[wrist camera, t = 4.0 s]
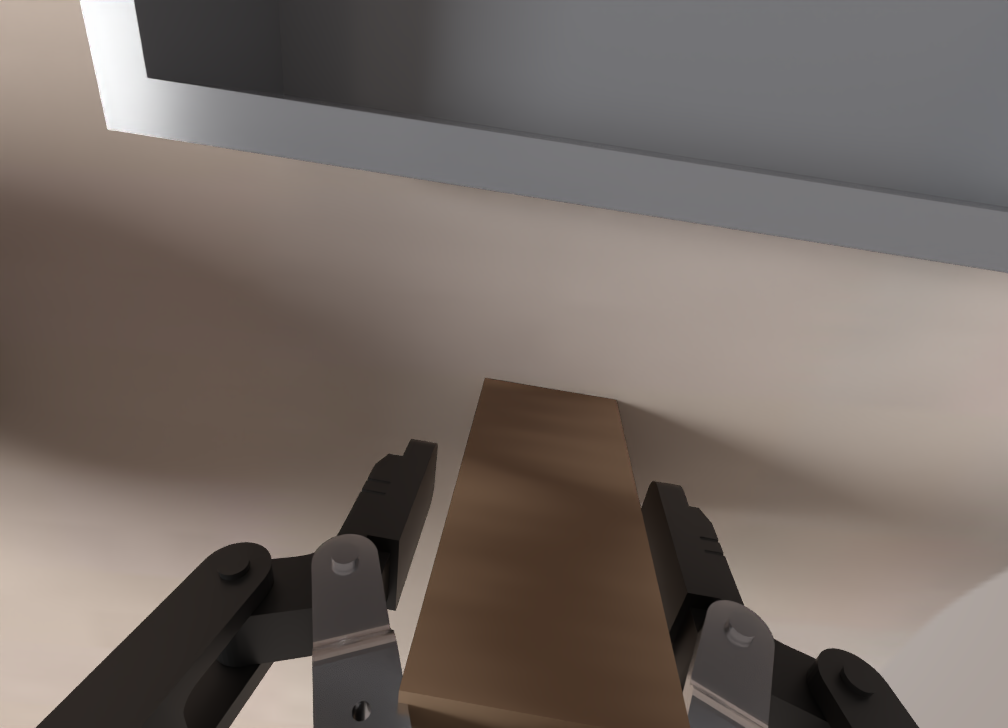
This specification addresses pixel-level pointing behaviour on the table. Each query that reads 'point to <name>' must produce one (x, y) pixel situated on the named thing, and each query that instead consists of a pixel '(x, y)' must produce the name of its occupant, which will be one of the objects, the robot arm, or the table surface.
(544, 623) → the brown block
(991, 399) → the table surface
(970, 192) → the grey square tray
